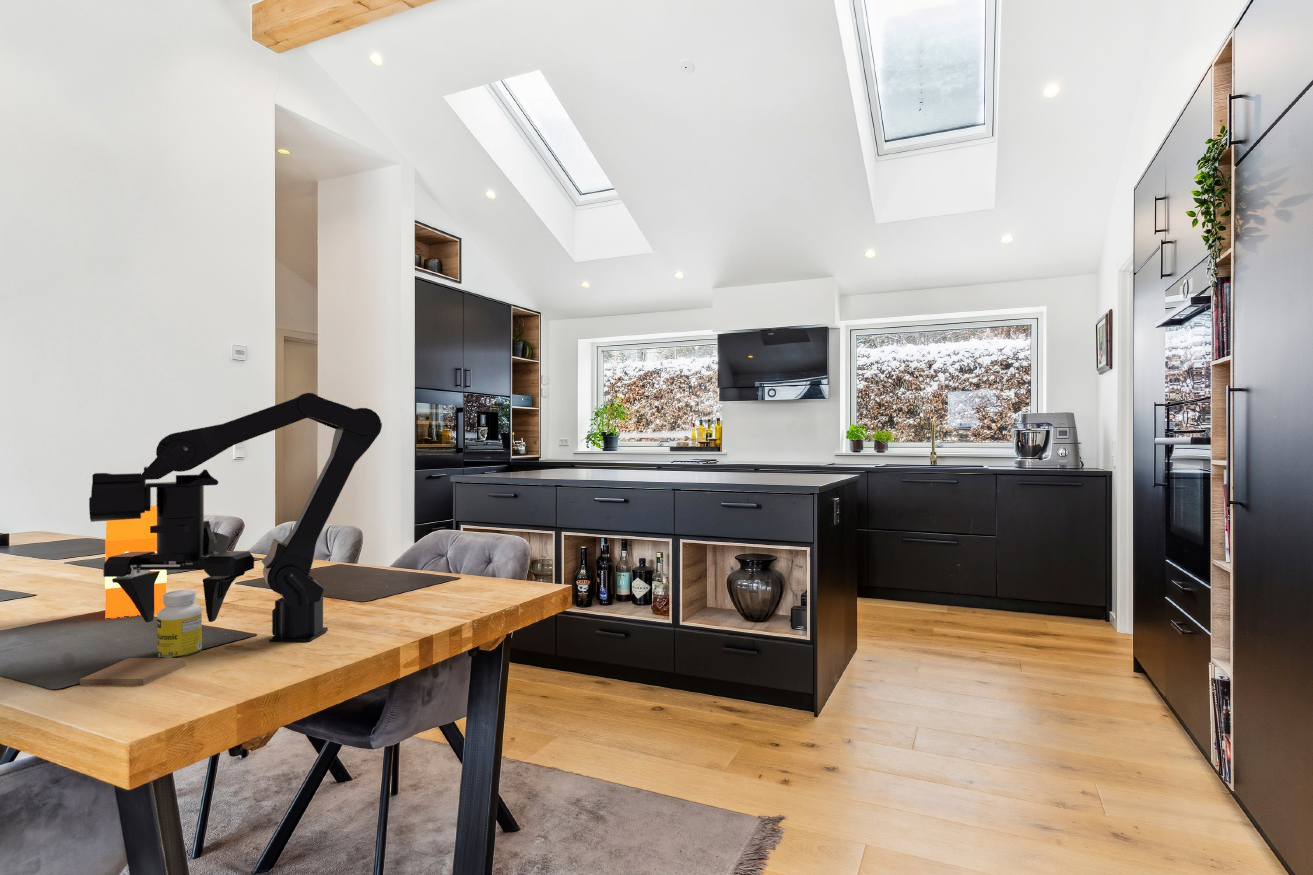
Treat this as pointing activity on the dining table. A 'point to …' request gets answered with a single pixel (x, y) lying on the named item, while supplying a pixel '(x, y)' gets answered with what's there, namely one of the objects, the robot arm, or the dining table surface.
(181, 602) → the supplement bottle
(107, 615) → the orange juice
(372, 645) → the dining table surface
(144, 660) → the walnut slab
